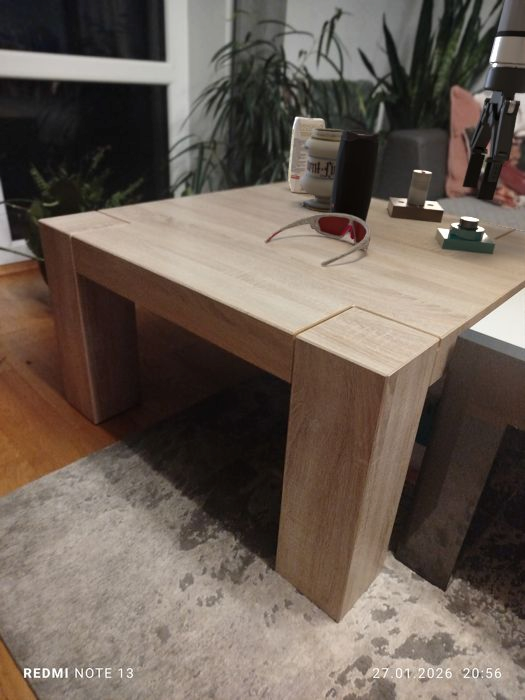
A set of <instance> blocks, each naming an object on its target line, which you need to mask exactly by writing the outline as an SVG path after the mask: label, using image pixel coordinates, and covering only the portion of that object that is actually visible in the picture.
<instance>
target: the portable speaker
mask: <svg viewBox="0 0 525 700" xmlns="http://www.w3.org/2000/svg"><path fill="white" fill-rule="evenodd" d="M342 130H343V131H342V135H341V140H340V144H339V149H338V153H337V158H336V165H335V172H334V179H333V186H332V193H331V208H330V212H329V213H341V214H348V215H352V216H355V217H358V218H360V219H362V220H363V221H365V222H366V223H367V219H368V215H369V210H370V206H371V203H372V197H373V191H374V187H375V186H374V185H375V180H376V174H377V168H378V161H379V150H380V149H379V147H380V140H381V133H380V132H376V133H375V132H374V133H372V132H368V131H367V130H364V129H353V128H352V129H349V130H346V129H342ZM350 231H351V229H350V230H349V231H348V232H350Z"/></svg>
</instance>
